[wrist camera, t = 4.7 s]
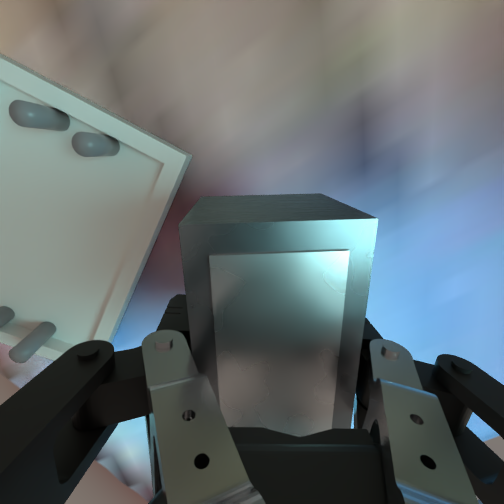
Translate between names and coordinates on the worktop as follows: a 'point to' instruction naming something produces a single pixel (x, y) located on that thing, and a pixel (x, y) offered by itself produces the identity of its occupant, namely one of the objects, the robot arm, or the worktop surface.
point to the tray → (73, 213)
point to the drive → (278, 306)
